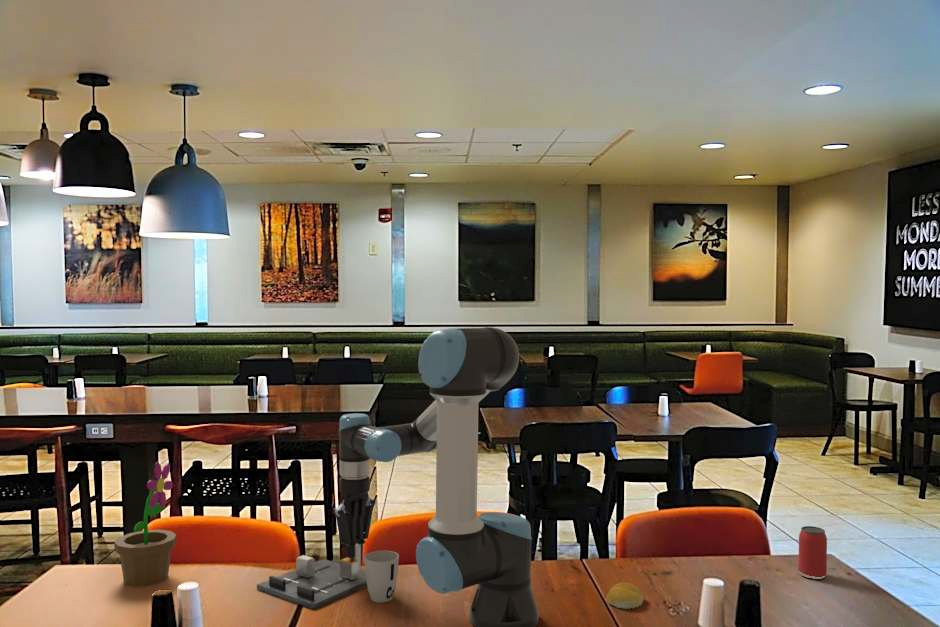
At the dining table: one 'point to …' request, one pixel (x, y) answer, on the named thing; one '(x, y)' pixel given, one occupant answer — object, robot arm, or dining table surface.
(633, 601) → the bread roll
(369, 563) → the cup
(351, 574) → the near fader
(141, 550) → the flowerpot
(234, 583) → the dining table surface
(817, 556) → the beer can
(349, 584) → the console
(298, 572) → the far fader
